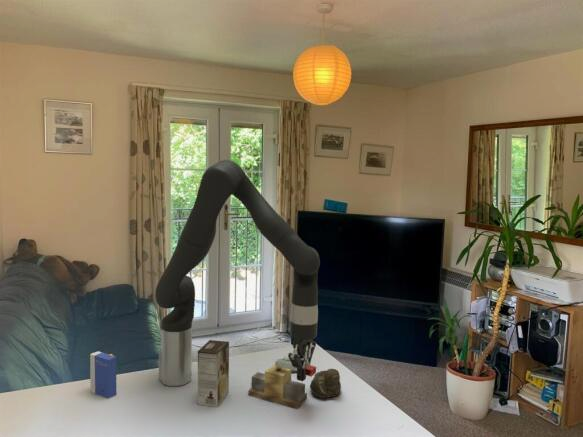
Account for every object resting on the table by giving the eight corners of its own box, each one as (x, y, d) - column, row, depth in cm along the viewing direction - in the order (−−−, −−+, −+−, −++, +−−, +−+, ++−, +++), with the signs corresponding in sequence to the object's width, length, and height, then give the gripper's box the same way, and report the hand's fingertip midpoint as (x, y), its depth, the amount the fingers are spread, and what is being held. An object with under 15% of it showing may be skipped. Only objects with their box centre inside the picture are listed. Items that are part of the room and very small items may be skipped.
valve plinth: (248, 395, 133) (248, 368, 132) (259, 385, 139) (260, 360, 138) (297, 408, 126) (298, 380, 125) (306, 398, 132) (307, 371, 132)
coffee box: (209, 389, 136) (209, 338, 134) (229, 392, 134) (229, 341, 133) (196, 405, 127) (197, 350, 125) (218, 408, 125) (218, 353, 124)
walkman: (116, 394, 131) (116, 355, 130) (108, 398, 129) (108, 358, 127) (98, 388, 135) (97, 349, 133) (90, 391, 132) (89, 352, 131)
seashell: (315, 387, 127) (349, 384, 129) (307, 351, 136) (339, 349, 138) (310, 407, 134) (342, 404, 136) (303, 372, 143) (333, 370, 145)
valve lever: (273, 370, 131) (274, 360, 131) (278, 367, 133) (278, 357, 133) (311, 380, 125) (311, 370, 125) (315, 377, 128) (316, 366, 127)
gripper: (305, 328, 115) (302, 392, 117) (326, 315, 127) (323, 374, 128) (280, 323, 119) (277, 385, 120) (302, 311, 130) (300, 368, 132)
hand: (301, 379), depth 124 cm, fingers closed
